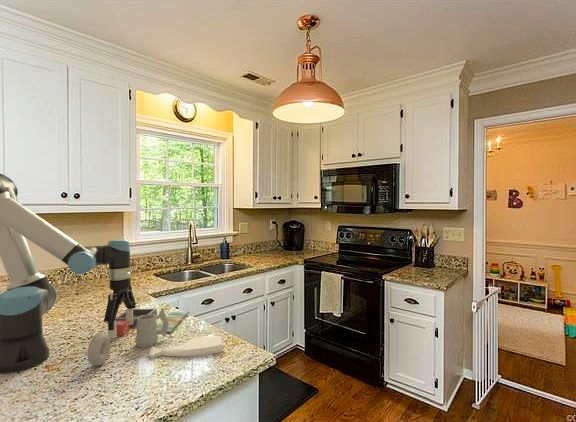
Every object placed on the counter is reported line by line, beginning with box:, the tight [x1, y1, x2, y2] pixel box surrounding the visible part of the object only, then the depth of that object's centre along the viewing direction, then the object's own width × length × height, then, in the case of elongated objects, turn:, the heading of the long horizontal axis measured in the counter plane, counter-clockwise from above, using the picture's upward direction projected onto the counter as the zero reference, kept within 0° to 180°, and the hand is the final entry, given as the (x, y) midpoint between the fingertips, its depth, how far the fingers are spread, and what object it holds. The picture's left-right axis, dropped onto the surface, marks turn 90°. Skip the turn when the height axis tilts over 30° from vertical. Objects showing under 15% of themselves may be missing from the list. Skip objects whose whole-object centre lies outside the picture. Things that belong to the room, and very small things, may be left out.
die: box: [116, 321, 130, 337], centre depth 128 cm, size 5×5×5 cm
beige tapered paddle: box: [148, 335, 224, 360], centre depth 113 cm, size 3×11×24 cm
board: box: [156, 311, 190, 334], centre depth 141 cm, size 24×8×1 cm, turn 1°
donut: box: [87, 332, 111, 367], centre depth 103 cm, size 10×4×10 cm, turn 4°
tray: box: [115, 308, 158, 327], centre depth 143 cm, size 13×13×3 cm
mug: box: [135, 307, 169, 348], centre depth 120 cm, size 8×12×12 cm, turn 129°
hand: (121, 330), depth 129 cm, fingers open, 13 cm apart
